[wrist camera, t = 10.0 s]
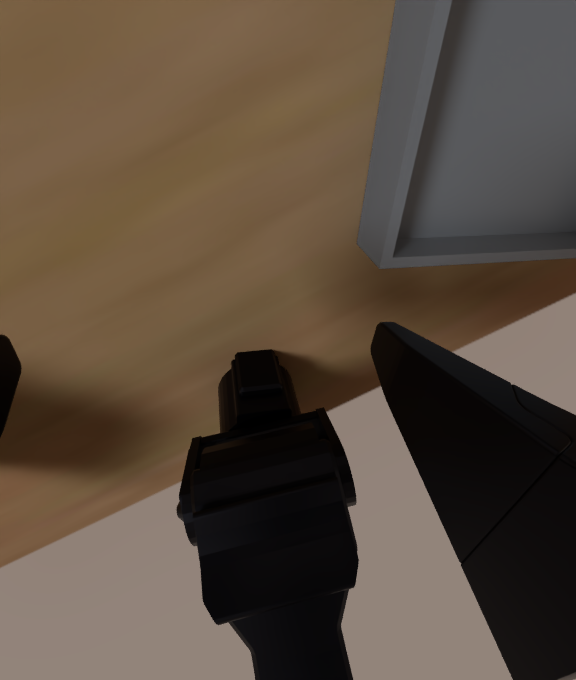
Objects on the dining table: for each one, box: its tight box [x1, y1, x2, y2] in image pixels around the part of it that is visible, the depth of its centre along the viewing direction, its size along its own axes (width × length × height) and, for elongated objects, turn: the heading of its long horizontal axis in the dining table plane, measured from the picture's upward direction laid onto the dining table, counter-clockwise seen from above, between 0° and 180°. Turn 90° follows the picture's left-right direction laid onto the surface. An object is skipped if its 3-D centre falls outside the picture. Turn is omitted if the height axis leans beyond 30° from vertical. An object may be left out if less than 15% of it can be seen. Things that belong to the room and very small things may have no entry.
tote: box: [357, 0, 576, 269], centre depth 16 cm, size 15×15×4 cm
